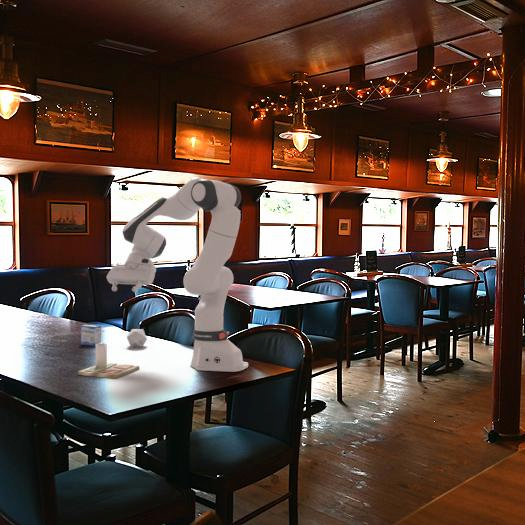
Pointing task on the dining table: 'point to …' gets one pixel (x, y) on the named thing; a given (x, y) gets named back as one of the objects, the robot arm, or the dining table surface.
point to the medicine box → (91, 335)
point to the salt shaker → (101, 355)
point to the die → (136, 338)
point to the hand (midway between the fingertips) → (123, 290)
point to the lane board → (109, 370)
